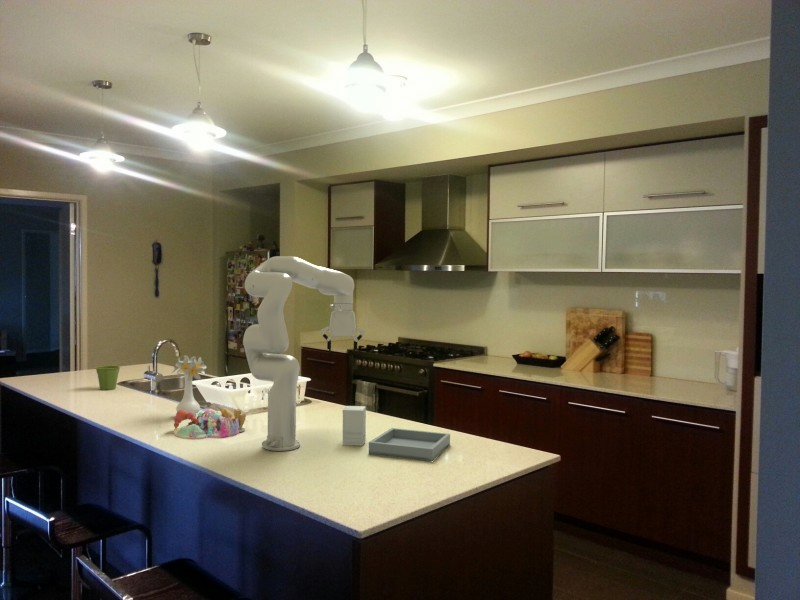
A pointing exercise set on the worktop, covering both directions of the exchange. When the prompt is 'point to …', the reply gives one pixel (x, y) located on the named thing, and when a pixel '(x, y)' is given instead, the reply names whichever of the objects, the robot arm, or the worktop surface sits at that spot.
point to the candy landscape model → (209, 424)
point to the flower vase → (189, 382)
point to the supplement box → (354, 425)
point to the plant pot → (107, 376)
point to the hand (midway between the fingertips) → (342, 351)
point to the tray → (409, 444)
